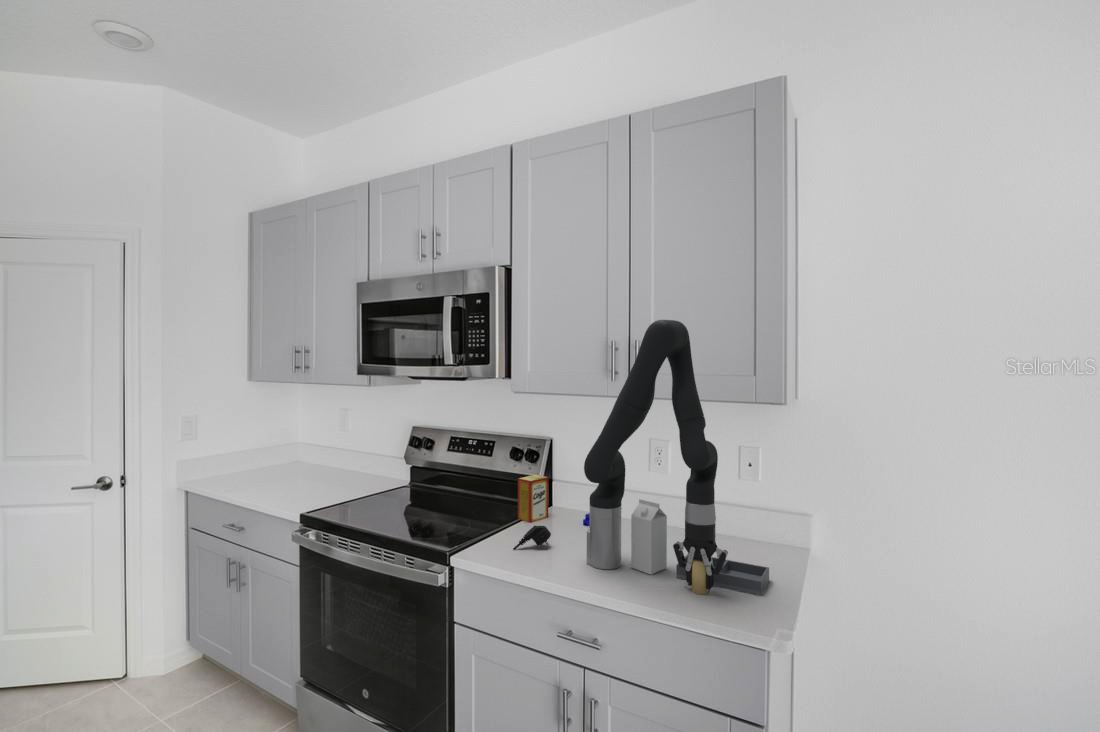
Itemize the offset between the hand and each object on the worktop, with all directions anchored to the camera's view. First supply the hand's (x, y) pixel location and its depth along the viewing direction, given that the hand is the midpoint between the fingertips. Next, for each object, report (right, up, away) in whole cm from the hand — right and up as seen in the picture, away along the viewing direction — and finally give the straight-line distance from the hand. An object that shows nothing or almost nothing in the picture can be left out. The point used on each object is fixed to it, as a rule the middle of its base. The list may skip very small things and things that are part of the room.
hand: (699, 586), depth 139 cm
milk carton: (-10, -1, +15) cm, 19 cm away
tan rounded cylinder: (0, -1, 0) cm, 1 cm away
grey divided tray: (+8, -1, +8) cm, 11 cm away
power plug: (-48, -3, +31) cm, 57 cm away
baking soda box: (-44, -1, +63) cm, 77 cm away
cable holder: (-22, -1, +55) cm, 59 cm away
